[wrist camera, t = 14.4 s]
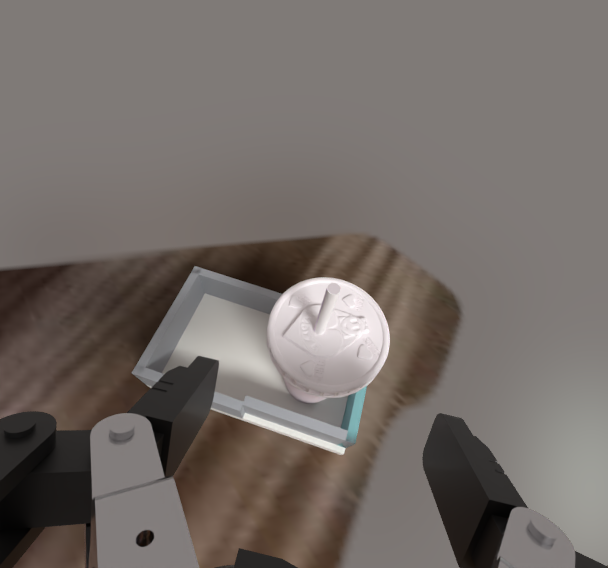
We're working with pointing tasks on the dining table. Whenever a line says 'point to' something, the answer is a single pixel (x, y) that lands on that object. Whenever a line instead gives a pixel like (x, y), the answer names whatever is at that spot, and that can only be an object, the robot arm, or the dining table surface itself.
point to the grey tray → (243, 361)
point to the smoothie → (327, 339)
